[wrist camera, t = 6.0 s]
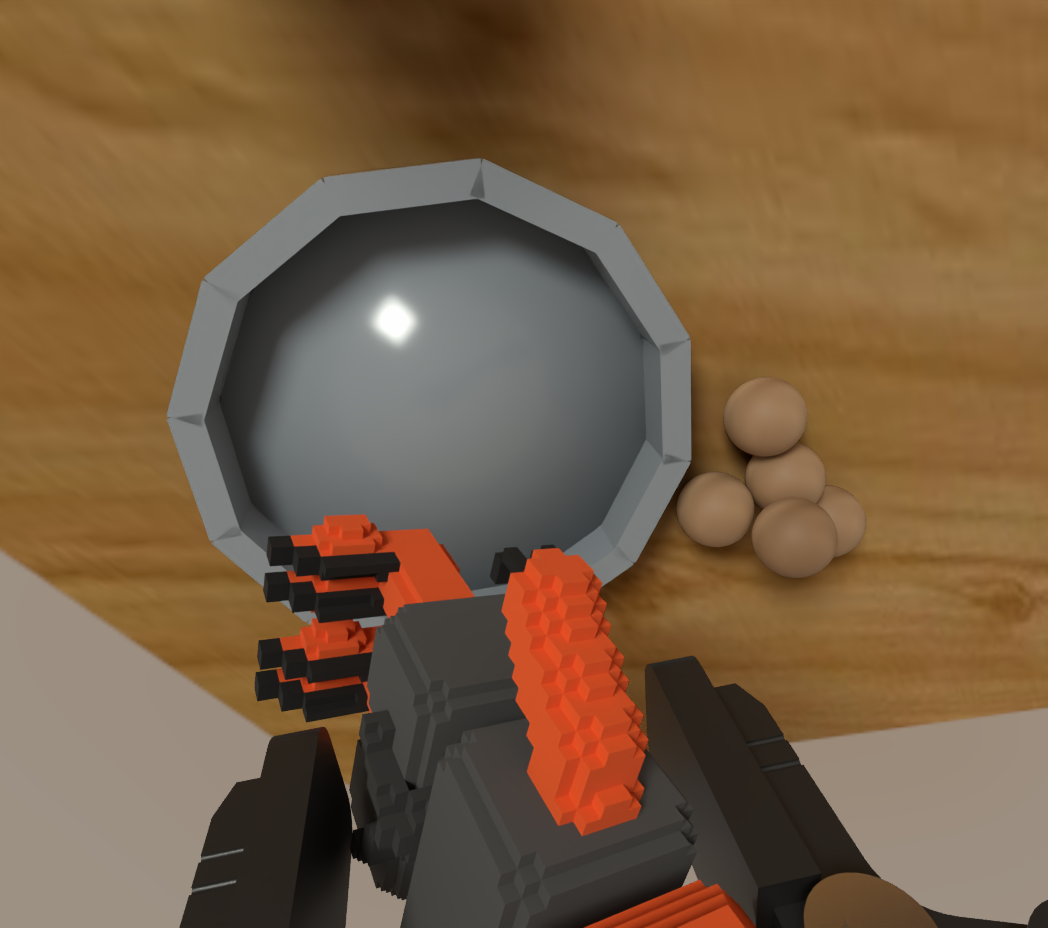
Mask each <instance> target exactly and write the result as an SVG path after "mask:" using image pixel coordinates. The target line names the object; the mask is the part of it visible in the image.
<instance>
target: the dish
mask: <svg viewBox="0 0 1048 928" xmlns="http://www.w3.org/2000/svg"><path fill="white" fill-rule="evenodd" d="M204 278H205V279H203V280H202V282H201V286H200V290H199V294H198V298H197V301H196V305H195V309H194V313H193V317H192V321H191V324H190V328H189V332H188V336H187V340H186V343H185V347H184V351H183V355H182V359H181V362H180V366H179V370H178V374H177V378H176V382H175V385H174V389H173V393H172V397H171V401H170V404H169V408H168V412H167V417H168V418H167V421H168V424H169V427H170V430H171V432H172V435H173V438H174V441H175V444H176V446H177V449H178V452H179V455H180V458H181V461H182V463H183V466H184V469H185V472H186V475H187V478H188V480H189V483H190V486H191V489H192V492H193V495H194V497H195V500H196V503H197V506H198V509H199V512H200V514H201V517H202V520H203V523H204V526H205V529H206V531H207V534H208V537H209V540H210V541H212V544H213V545H214V546H215V547H216V548H218V549H219V550H220V551H221V552H222V553H224V554H225V555H226V556H227V557H228V558H229V559H231V560H232V561H233V562H234V563H235V564H237V565H238V566H239V567H240V568H241V569H243V570H244V571H245V572H246V573H247V574H248V575H250V576H251V577H252V578H253V579H254V580H256V581H257V582H258V583H259V584H260V585H262V586H263V587H264V576H265V573H269V572H283V571H294V568H293V565H283V566H270V565H269V562H268V558H267V555H266V554H267V543H268V537H270V536H290V535H311V534H312V528H313V525H323V524H324V516H335V515H362V514H365V515H366V516H367V518H368V520H369V522H370V523H374V524H375V526H376V527H377V529H378V531H391V530H411V529H429V531H430V532H431V533H432V535H433V536H434V538H435V539H436V541H437V542H438V544H443V545H444V547H445V548H446V550H447V551H448V553H449V554H450V555H451V557H452V558H453V560H454V561H455V563H456V564H457V565H458V567H459V568H460V573H459V574H460V576H461V577H462V578H463V580H464V581H465V583H466V584H467V586H468V587H469V589H470V590H471V592H472V593H473V594H474V596H475V597H478V596H488V595H497V594H506V590H507V586H508V583H506V584H495V583H494V582H493V580H492V579H491V578H490V573H491V569H492V564H493V560H494V556H495V553H497V552H503V551H504V548H510V547H517V548H518V549H519V550H520V551H521V552H522V554H523V555H524V556H525V557H526V558H527V559H530V555H531V551H532V550H537V549H541V545H554V546H555V547H556V548H559V549H560V550H561V551H562V552H563V553H564V554H565V555H566V556H569V555H579V556H580V557H581V558H582V559H583V560H584V561H585V562H586V563H587V564H588V565H589V566H590V567H591V568H592V569H593V570H594V574H595V575H596V576H597V577H598V578H599V579H600V580H601V581H602V586H604V585H605V584H607V583H608V582H609V581H611V580H612V579H614V578H615V577H617V576H618V575H619V574H621V573H622V572H624V571H625V570H627V569H628V568H630V567H631V566H632V565H634V564H633V562H635V563H636V561H637V559H638V557H639V555H640V554H641V552H642V550H643V548H644V546H645V545H646V543H647V541H648V539H649V537H650V535H651V534H652V532H653V530H654V528H655V526H656V525H657V523H658V521H659V519H660V517H661V516H662V514H663V512H664V510H665V508H666V506H667V505H668V503H669V501H670V499H671V497H672V496H673V494H674V492H675V490H676V488H677V487H678V485H679V483H680V481H681V479H682V478H683V476H684V474H685V472H686V470H687V468H688V467H689V465H690V463H691V462H690V460H691V340H690V339H689V338H690V336H689V335H688V333H687V332H686V330H685V328H684V327H683V325H682V324H681V322H680V320H679V319H678V317H677V316H676V314H675V312H674V311H673V309H672V308H671V306H670V304H669V303H668V301H667V300H666V298H665V296H664V295H663V293H662V292H661V290H660V288H659V287H658V285H657V284H656V282H655V280H654V279H653V277H652V276H651V274H650V272H649V271H648V269H647V268H646V266H645V264H644V263H643V261H642V260H641V258H640V256H639V255H638V253H637V252H636V250H635V248H634V247H633V245H632V244H631V242H630V240H629V239H628V237H627V236H626V234H625V232H624V231H623V229H622V228H621V226H620V225H619V224H617V222H615V221H613V220H611V219H609V218H606V217H604V216H602V215H600V214H598V213H596V212H594V211H592V210H590V209H588V208H586V207H583V206H581V205H579V204H577V203H575V202H573V201H571V200H569V199H567V198H565V197H563V196H560V195H558V194H556V193H554V192H552V191H550V190H548V189H546V188H544V187H542V186H540V185H537V184H535V183H533V182H531V181H529V180H527V179H525V178H523V177H521V176H519V175H516V174H514V173H512V172H510V171H508V170H506V169H504V168H502V167H500V166H498V165H496V164H493V163H491V162H489V161H487V160H485V159H480V158H471V159H463V160H454V161H446V162H438V163H429V164H421V165H413V166H405V167H396V168H388V169H380V170H372V171H363V172H355V173H347V174H338V175H331V176H327V177H324V178H320V179H319V180H318V181H317V182H316V183H315V184H313V185H312V186H311V187H310V188H309V189H307V190H306V191H305V192H304V193H303V194H302V195H300V196H299V197H298V198H297V199H296V200H295V201H293V202H292V203H291V204H290V205H289V206H287V207H286V208H285V209H284V210H283V211H282V212H280V213H279V214H278V215H277V216H276V217H275V218H273V219H272V220H271V221H270V222H269V223H267V224H266V225H265V226H264V227H263V228H262V229H260V230H259V231H258V232H257V233H256V234H255V235H253V236H252V237H251V238H250V239H249V240H247V241H246V242H245V243H244V244H243V245H242V246H240V247H239V248H238V249H237V250H236V251H234V252H233V253H232V254H231V255H230V256H229V257H227V258H226V259H225V260H224V261H223V262H222V263H220V264H219V265H218V266H217V267H216V268H214V269H213V270H212V271H211V272H210V273H209V274H207V275H206V276H205V277H204ZM255 287H256V288H255ZM510 574H511V573H510ZM509 578H510V577H509ZM508 582H509V581H508ZM602 586H601V587H602ZM281 602H282V603H283V604H284V605H285V606H286V607H288V608H289V609H290V610H291V606H290V603H289V600H287V601H281ZM291 611H292V610H291ZM295 614H296V615H297V616H298V617H300V618H301V619H302V620H303V621H304V622H307V621H308V624H311V621H312V618H317V617H316V614H315V613H311V611H305V612H295ZM386 618H388V617H387V616H379V617H370V618H361V619H353V621H359V623H360V625H361V627H362V628H366V627H374V626H382V625H384V620H385V619H386Z"/></svg>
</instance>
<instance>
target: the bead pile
mask: <svg viewBox="0 0 1048 928" xmlns="http://www.w3.org/2000/svg"><path fill="white" fill-rule="evenodd" d="M723 418H724V426H725V430H726V432H727V434H728V436H729V438H730V439H731V441H732V442H733V443H734V444H735V445H736V446H737V447H738V448H740V449H741V450H743V451H744V452H746V453H749V454H752V455H753V456H752V458H751V459H750V461H749V463H748V466H747V469H746V474H745V483H746V486H745V485H744V484H743V483H742V482H741V481H740V480H739V479H737V478H736V477H734V476H732V475H730V474H727V473H722V472H707V473H703V474H700V475H698V476H696V477H694V478H693V479H691V480H690V481H689V482H688V483H687V484H686V485H685V486H684V488H683V489H682V491H681V492H680V495H679V497H678V501H677V517H678V520H679V523H680V525H681V527H682V529H683V530H684V532H685V533H686V534H687V535H688V536H689V537H690V538H691V539H693V540H694V541H696V542H697V543H700V544H702V545H705V546H710V547H723V546H728V545H731V544H733V543H735V542H737V541H738V540H740V539H741V538H742V537H743V536H744V535H745V534H746V533H747V532H748V530H749V529H750V527H751V525H752V522H753V519H754V513H755V506H754V502H755V503H756V504H757V505H758V506H759V507H760V508H762V509H763V510H762V511H761V512H760V513H759V515H758V516H757V518H756V520H755V522H754V525H753V529H752V543H753V548H754V550H755V553H756V555H757V556H758V558H759V559H760V561H761V562H762V563H763V564H764V565H765V566H766V567H767V568H768V569H770V570H771V571H773V572H775V573H777V574H779V575H782V576H785V577H790V578H803V577H808V576H811V575H814V574H816V573H818V572H820V571H821V570H823V569H824V568H825V567H826V566H827V565H828V564H829V563H830V561H831V560H832V558H833V557H838V556H841V555H844V554H846V553H848V552H850V551H851V550H853V549H854V548H855V547H856V546H857V545H858V544H859V543H860V541H861V540H862V538H863V536H864V533H865V529H866V517H865V512H864V510H863V508H862V506H861V504H860V503H859V501H858V500H857V499H856V498H855V497H854V496H853V495H852V494H851V493H849V492H848V491H846V490H844V489H842V488H839V487H836V486H830V485H825V484H826V473H825V469H824V466H823V463H822V461H821V460H820V458H819V457H818V455H817V454H816V453H815V452H814V451H813V450H811V449H810V448H809V447H807V446H805V445H803V444H801V443H798V441H799V439H800V438H801V436H802V435H803V433H804V430H805V428H806V424H807V408H806V404H805V402H804V400H803V397H802V396H801V394H800V393H799V392H798V391H797V390H796V389H795V388H794V387H793V386H792V385H790V384H789V383H787V382H785V381H783V380H780V379H777V378H772V377H762V378H756V379H752V380H750V381H747V382H745V383H744V384H742V385H740V386H739V387H738V388H737V389H736V390H735V391H734V392H733V393H732V394H731V396H730V397H729V399H728V401H727V403H726V406H725V409H724V417H723Z"/></svg>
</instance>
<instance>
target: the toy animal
mask: <svg viewBox="0 0 1048 928" xmlns="http://www.w3.org/2000/svg"><path fill="white" fill-rule="evenodd" d="M266 555H267V558H268V562H269V565H270V566H283V565H293V568H294V571H283V572H269V573H265V576H264V588H263V591H264V595H265V599H266V602H276V601H287V600H289V603H290V606H291V610H292V613H295V612H305V611H311V613H315V614H316V617H317V618H312V621H311V626H310V627H302V628H301V631H300V636H292V637H284V638H276V639H267V640H259V643H258V654H257V657H258V662H259V666H260V670H262V669H269V668H276V667H282V669H275V670H268V671H261V672H256V677H255V692H256V697H257V701H262V700H268V699H274V698H278V699H279V703H280V707H281V711H282V712H283V711H288V710H294V709H301V708H302V709H303V713H304V716H305V720H306V722H311V721H316V720H322V719H327V718H333V717H338V716H343V715H349V714H354V713H360V712H365V711H370V713H368V714H362V720H361V726H360V732H359V736H360V738H361V739H360V740H358V741H357V747H356V753H355V759H354V765H353V771H352V777H351V783H350V789H349V791H350V794H351V797H352V803H351V809H352V813H353V816H354V819H355V822H356V825H357V829H356V830H353V833H352V839H351V844H350V850H351V854H352V857H353V859H355V858H357V860H358V861H361V860H362V861H363V864H365V863H368V866H369V867H370V870H371V873H372V876H373V880H374V883H375V886H376V888H379V887H380V888H381V891H385V890H386V893H388V892H391V895H392V896H393V895H396V896H397V898H398V899H400V898H401V899H402V900H404V899H406V905H405V909H404V913H403V918H402V922H401V927H400V928H757V927H756V926H755V925H754V923H753V922H752V921H751V919H750V918H749V917H748V915H747V914H746V913H745V911H744V910H743V909H742V907H741V906H740V905H739V903H738V902H737V903H736V902H735V901H734V899H733V898H732V897H729V896H728V894H727V893H726V892H725V890H723V891H722V889H721V888H720V886H719V885H718V884H715V885H713V886H710V887H708V886H706V887H705V886H704V884H703V883H702V882H701V880H698V881H696V882H693V883H690V884H688V885H686V886H683V887H682V885H683V883H684V881H685V878H686V876H687V874H688V872H689V869H690V867H691V865H692V863H693V860H694V858H695V856H696V854H697V850H696V849H695V847H694V846H693V845H694V843H695V841H696V839H697V836H698V834H699V833H698V832H697V830H696V829H695V828H694V826H693V825H692V824H691V823H690V821H689V818H690V816H691V814H692V811H693V808H692V807H691V805H690V804H689V803H688V802H687V800H686V799H685V798H684V796H683V795H682V794H681V793H680V791H679V790H678V789H677V788H676V786H675V785H674V784H673V783H672V781H671V780H670V779H669V777H668V776H667V775H666V774H665V772H664V771H663V770H662V769H661V767H660V766H659V765H658V764H657V762H656V761H655V760H654V758H653V757H652V756H651V755H650V753H649V752H648V751H647V750H646V745H647V743H648V740H649V739H648V738H647V737H646V736H645V734H644V733H643V732H642V731H641V729H640V728H639V726H640V724H641V721H642V718H643V714H642V713H641V711H640V710H639V709H638V708H637V707H636V705H635V704H634V703H633V702H632V701H631V699H630V698H629V697H628V696H627V695H626V693H625V691H626V688H627V685H628V683H629V679H628V678H627V677H626V676H625V675H624V674H623V672H622V671H621V670H620V669H621V666H622V663H623V660H624V658H625V657H624V656H623V655H622V654H621V653H620V652H619V651H618V649H617V648H616V646H615V645H614V644H613V643H612V642H611V640H610V639H609V638H608V634H609V631H610V628H611V625H610V623H609V622H608V621H607V620H606V619H605V618H604V617H603V614H604V611H605V608H606V605H607V603H606V602H605V601H604V600H603V599H602V598H601V597H600V596H599V592H600V589H601V586H602V581H601V580H600V579H599V578H598V577H597V576H596V575H595V574H594V570H593V569H592V568H591V567H590V566H589V565H588V564H587V563H586V562H585V561H584V560H583V559H582V558H581V557H580V556H579V555H569V556H566V555H565V554H564V553H563V552H562V551H561V550H560V549H559V548H556V547H555V546H554V545H541V549H537V550H532V551H531V555H530V559H527V558H526V557H525V556H524V555H523V554H522V552H521V551H520V550H519V549H518V548H517V547H510V548H504V551H503V552H497V553H495V556H494V560H493V564H492V569H491V573H490V578H491V579H492V580H493V582H494V583H495V584H506V583H508V586H507V590H506V594H497V595H488V596H478V597H475V596H474V594H473V593H472V592H471V590H470V589H469V587H468V586H467V584H466V583H465V581H464V580H463V578H462V577H461V576H460V574H459V573H460V568H459V567H458V565H457V564H456V563H455V561H454V560H453V558H452V557H451V555H450V554H449V553H448V551H447V550H446V548H445V547H444V545H443V544H438V542H437V541H436V539H435V538H434V536H433V535H432V533H431V532H430V531H429V529H411V530H391V531H378V529H377V527H376V526H375V524H374V523H370V522H369V520H368V518H367V516H366V515H365V514H362V515H335V516H324V524H323V525H313V528H312V534H311V535H290V536H270V537H268V543H267V554H266ZM510 573H511V574H510ZM509 577H510V578H509ZM508 581H509V582H508ZM379 616H387V617H388V618H386V619H385V620H384V625H382V626H374V627H366V628H362V627H361V625H360V623H359V621H353V619H361V618H370V617H379Z"/></svg>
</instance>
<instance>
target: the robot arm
mask: <svg viewBox="0 0 1048 928" xmlns="http://www.w3.org/2000/svg"><path fill="white" fill-rule="evenodd" d="M645 689H646V714H647V737H648V739H649V740H648V745H649V750H650V755H651V756H652V757H653V758H654V760H655V761H656V762H657V764H658V765H659V766H660V767H661V769H662V770H663V771H664V772H665V774H666V775H667V776H668V777H669V779H670V780H671V781H672V783H673V784H674V785H675V786H676V788H677V789H678V790H679V791H680V793H681V794H682V795H683V796H684V798H685V799H686V800H687V802H688V803H689V804H690V805H691V807H692V808H693V811H692V814H691V816H690V818H689V821H690V823H691V824H692V825H693V826H694V828H695V829H696V830H697V832H698V833H699V834H698V836H697V839H696V841H695V843H694V845H693V846H694V847H695V849H696V850H697V854H696V856H695V858H694V860H693V863H692V866H693V868H694V871H695V873H696V876H697V878H698V880H701V882H702V883H703V884H704V886H705V887H706V886H708V887H710V886H713V885H715V884H718V885H719V886H720V888H721V889H722V891H723V890H725V892H726V893H727V894H728V896H729V897H732V898H733V899H734V901H735V902H736V903H737V902H738V903H739V905H740V906H741V907H742V909H743V910H744V911H745V913H746V914H747V915H748V917H749V918H750V919H751V921H752V922H753V923H754V925H755V926H756V927H757V928H1048V900H1047V901H1045V902H1043V903H1041V904H1040V905H1039V906H1038V907H1036V909H1035V910H1034V911H1033V913H1032V915H1031V916H1030V919H1029V922H1028V925H1025V924H1016V923H1007V922H1000V921H991V920H983V919H974V918H966V917H958V916H952V915H947V914H943V913H940V912H936V911H933V910H930V909H928V908H926V907H923V906H921V905H920V904H919V903H918V902H916V900H914V899H913V898H912V897H911V896H910V895H908V894H907V893H906V892H905V891H903V890H901V889H900V888H898V887H897V886H895V885H893V884H891V883H889V882H887V881H885V880H883V879H881V878H880V877H879V876H878V875H877V874H876V872H875V871H874V870H873V869H872V868H871V867H870V865H869V864H868V863H867V861H866V860H865V859H864V857H863V856H862V854H861V852H860V851H859V849H858V848H857V846H856V845H855V843H854V842H853V840H852V839H851V837H850V836H849V834H848V833H847V831H846V830H845V828H844V827H843V825H842V823H841V822H840V820H839V819H838V817H837V816H836V814H835V813H834V811H833V810H832V808H831V806H830V805H829V803H828V802H827V800H826V799H825V797H824V796H823V794H822V793H821V792H820V790H819V788H818V787H817V785H816V784H815V782H814V780H813V779H812V777H811V776H810V774H809V773H808V771H807V770H806V768H805V767H804V765H801V764H800V761H799V757H798V756H797V754H796V753H795V751H794V750H793V748H792V747H791V745H790V744H789V742H788V741H787V740H786V741H785V739H784V736H783V733H782V731H781V730H780V728H779V727H778V725H777V724H776V722H775V721H774V719H773V718H772V716H771V715H770V713H769V711H768V710H767V708H766V707H765V705H763V704H762V703H761V702H759V701H758V700H757V699H755V698H754V697H753V696H751V695H750V694H749V693H747V692H746V691H745V690H744V689H742V688H741V687H740V686H738V685H737V684H736V683H735V684H730V685H725V686H720V687H715V688H714V687H713V685H712V684H711V682H710V680H709V678H708V677H707V675H706V673H705V671H704V670H703V668H702V666H701V665H700V663H699V661H698V660H697V659H696V658H695V657H694V656H688V657H683V658H678V659H673V660H668V661H662V662H657V663H652V664H648V665H646V668H645ZM351 839H352V818H351V809H350V803H349V798H348V795H347V791H346V788H345V785H344V781H343V778H342V775H341V772H340V768H339V765H338V762H337V759H336V755H335V752H334V749H333V746H332V742H331V739H330V736H329V733H328V731H327V729H326V728H325V727H320V728H315V729H310V730H304V731H299V732H294V733H289V734H284V735H279V736H274V737H272V738H271V740H270V742H269V745H268V748H267V752H266V756H265V760H264V765H263V769H262V773H261V777H260V778H257V779H252V780H247V781H242V782H237V783H236V784H235V786H234V787H233V788H232V790H231V791H230V792H229V794H228V796H227V797H226V798H225V800H224V801H223V803H222V804H221V805H220V807H219V808H218V810H217V811H216V813H215V814H214V815H213V817H212V819H211V823H210V826H209V829H208V833H207V836H206V840H205V843H204V847H203V850H202V853H201V863H199V864H198V867H197V870H196V874H195V877H194V880H193V884H192V894H191V895H189V897H188V901H187V904H186V908H185V911H184V914H183V918H182V921H181V924H180V928H345V926H346V913H347V901H348V888H349V876H350V863H351V850H350V844H351Z"/></svg>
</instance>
